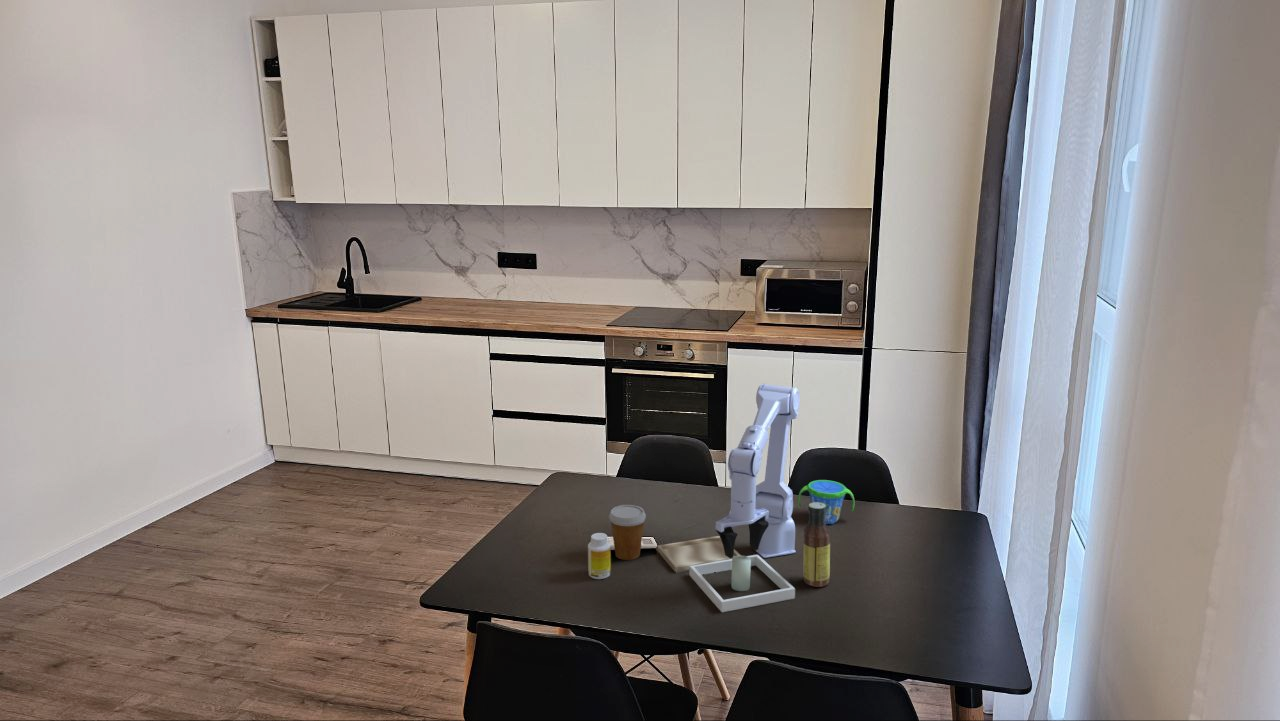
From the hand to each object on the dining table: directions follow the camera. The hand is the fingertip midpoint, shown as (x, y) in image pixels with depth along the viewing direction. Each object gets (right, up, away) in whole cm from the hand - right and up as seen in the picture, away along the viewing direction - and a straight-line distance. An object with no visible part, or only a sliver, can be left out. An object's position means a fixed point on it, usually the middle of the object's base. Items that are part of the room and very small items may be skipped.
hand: (741, 552), depth 196 cm
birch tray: (-9, -5, +18) cm, 20 cm away
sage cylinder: (0, -9, +2) cm, 9 cm away
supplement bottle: (-34, -7, +8) cm, 36 cm away
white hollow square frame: (0, -9, +2) cm, 9 cm away
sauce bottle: (+18, -8, +4) cm, 21 cm away
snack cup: (+29, 0, +40) cm, 49 cm away
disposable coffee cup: (-27, -5, +18) cm, 33 cm away
